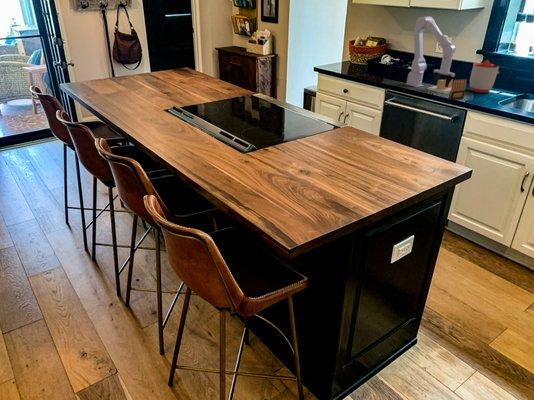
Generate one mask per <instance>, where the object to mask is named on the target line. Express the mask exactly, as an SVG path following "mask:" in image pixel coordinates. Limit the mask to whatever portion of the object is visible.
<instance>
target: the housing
mask: <svg viewBox="0 0 534 400" xmlns="http://www.w3.org/2000/svg"><path fill="white" fill-rule="evenodd" d="M444 80H446V78H445V79H444ZM453 82H454V78H453V79H452V80H451V81H450V83H449V85H448V87H445V88H444V89H443V90H441V89H437V85H435V86H434V85H433V86H428V88H427V91H428V90H429V91H432V92H437V93H440V94H443V95H445V94H450V91H451V89H452V86H453Z"/></svg>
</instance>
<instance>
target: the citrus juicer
mask: <svg viewBox="0 0 534 400" xmlns="http://www.w3.org/2000/svg"><path fill="white" fill-rule="evenodd" d="M499 69H500V66H499V65H498V66H495V64H493V63H490V60H488V59H487V60H485V61H483V62H475V63H473V64H472V69H471V73H470V77H469V90H470V91H472V92H475V93H485V94H486V93H490V91H491V90H492V88H493V86H494V84H495V82H496V78H497V75H498V74H500V71H499Z"/></svg>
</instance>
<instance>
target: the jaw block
mask: <svg viewBox="0 0 534 400" xmlns="http://www.w3.org/2000/svg"><path fill="white" fill-rule="evenodd" d="M445 83H446V80H445V79H439V80H438V84H437V85H436V86H437V89H441V90H443V89H444V88H445Z"/></svg>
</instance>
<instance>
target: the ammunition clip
mask: <svg viewBox="0 0 534 400" xmlns="http://www.w3.org/2000/svg"><path fill="white" fill-rule="evenodd" d="M466 86H467V78H463V79H462V78H461V79H453V83H452V89H451V91H450V93H449V95H448V100H449V101H453V100H454V101H455V100H460V99H461V100H463V99H464V98H465V94H466V93H465V92H466Z"/></svg>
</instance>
